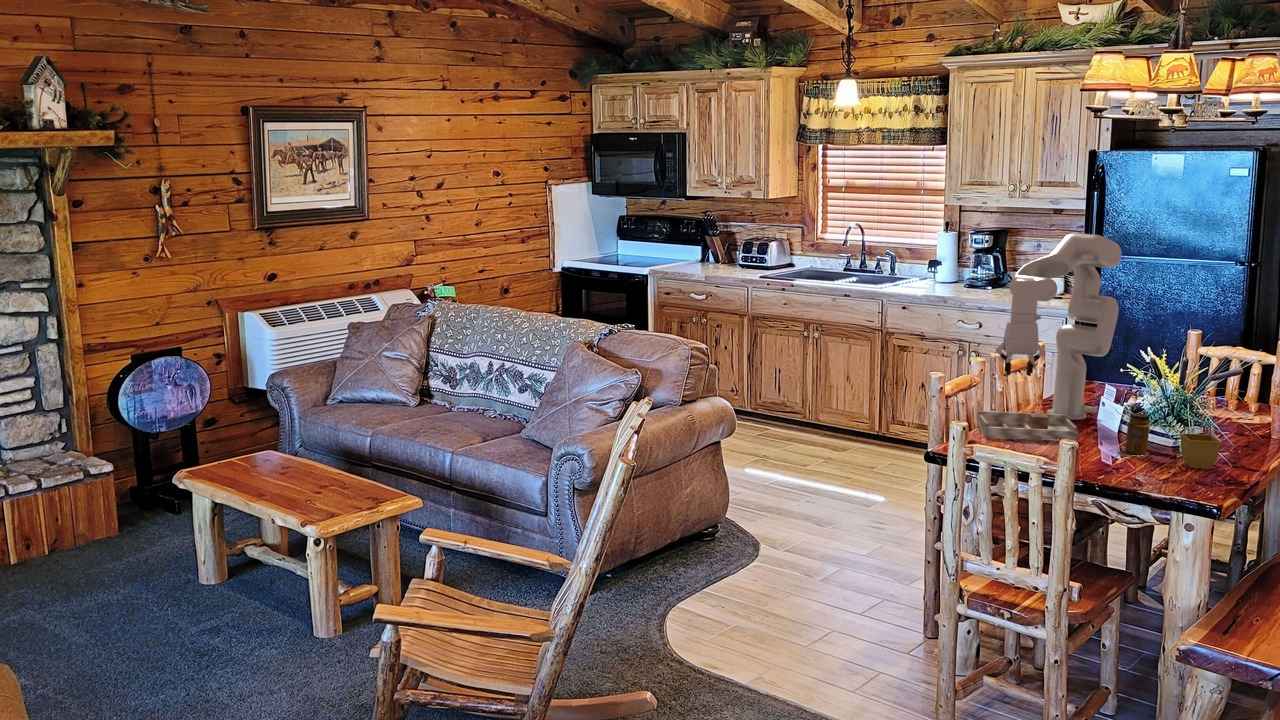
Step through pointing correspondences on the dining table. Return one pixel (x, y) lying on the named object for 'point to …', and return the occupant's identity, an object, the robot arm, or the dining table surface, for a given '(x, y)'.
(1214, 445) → the flower pot
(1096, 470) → the dining table surface
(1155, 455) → the dining table surface
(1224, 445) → the dining table surface
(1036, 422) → the walnut block
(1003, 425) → the compartment box
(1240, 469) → the dining table surface
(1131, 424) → the condiment
